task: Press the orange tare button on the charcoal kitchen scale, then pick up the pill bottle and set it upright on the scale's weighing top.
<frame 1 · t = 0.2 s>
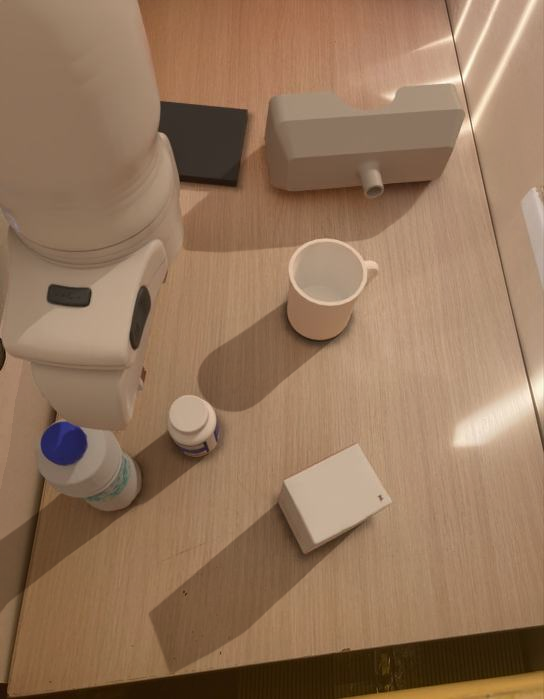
hand: (146, 326, 43), 23 cm above the worktop, tool pointing down, fingers open, 8 cm apart
pill bottle: (197, 435, 63), on the worktop
bottle: (117, 484, 60), on the worktop
scale: (196, 146, 81), on the worktop
tare button: (152, 150, 76), point 4 cm above the worktop, slide at 0.1 cm
tank: (354, 178, 79), on the worktop
mug: (325, 312, 70), on the worktop
small box: (321, 510, 60), on the worktop
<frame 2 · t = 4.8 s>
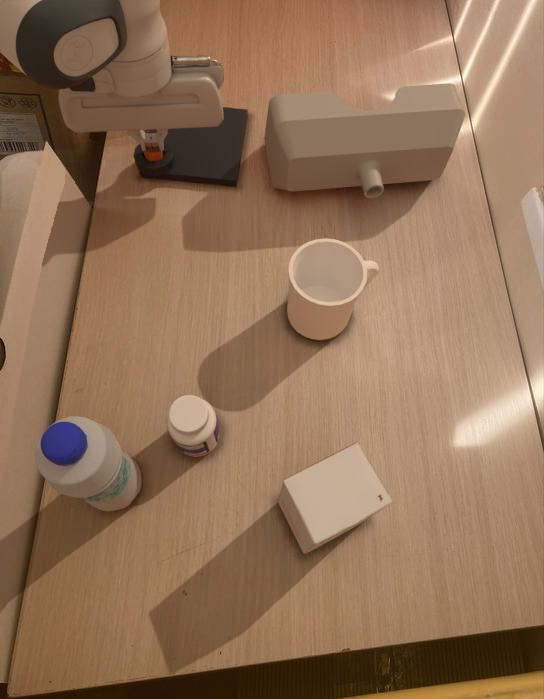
hand: (153, 147, 75), 4 cm above the worktop, tool pointing down, fingers closed, pressing on tare button
tare button: (153, 152, 76), point 3 cm above the worktop, slide at -0.2 cm, touching gripper
everything else where it was.
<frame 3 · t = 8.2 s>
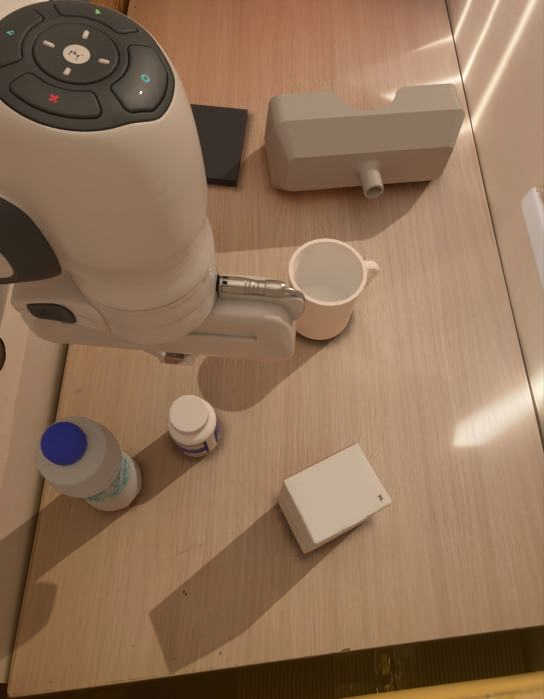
hand: (178, 357, 48), 17 cm above the worktop, tool pointing down, fingers closed
tare button: (152, 150, 76), point 4 cm above the worktop, slide at 0.1 cm
everything else where it was.
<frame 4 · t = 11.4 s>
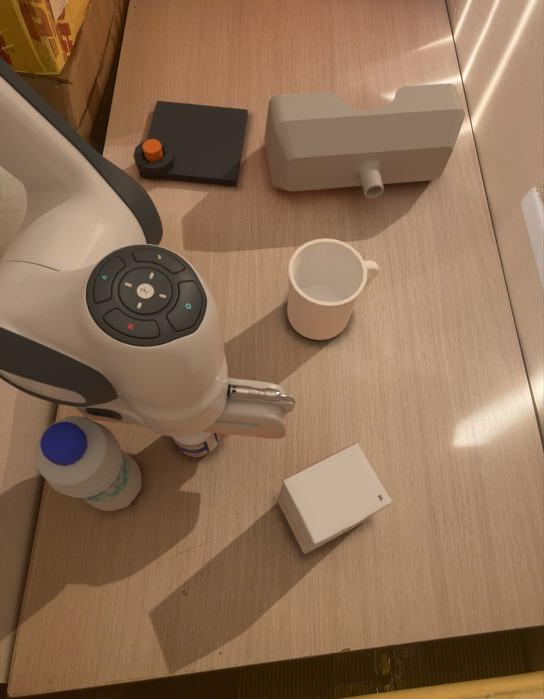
hand: (193, 426, 59), 4 cm above the worktop, tool pointing down, fingers closed on pill bottle, 5 cm apart
pill bottle: (197, 435, 63), on the worktop, touching gripper
everything else where it was.
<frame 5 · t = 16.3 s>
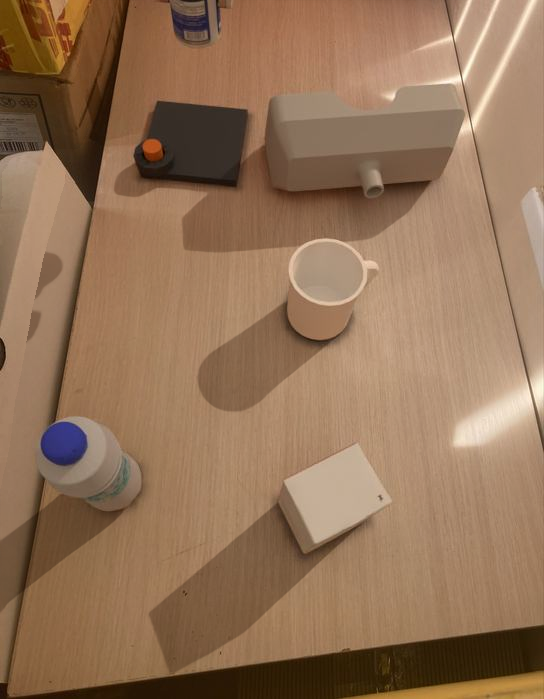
hand: (194, 2, 57), 24 cm above the worktop, tool pointing down, fingers closed on pill bottle, 5 cm apart
pill bottle: (198, 36, 61), point 20 cm above the worktop, touching gripper
everything else where it was.
when the fingers open (5 cm above the worktop, at t = 21.7 s): pill bottle stays where it is, resting on scale.
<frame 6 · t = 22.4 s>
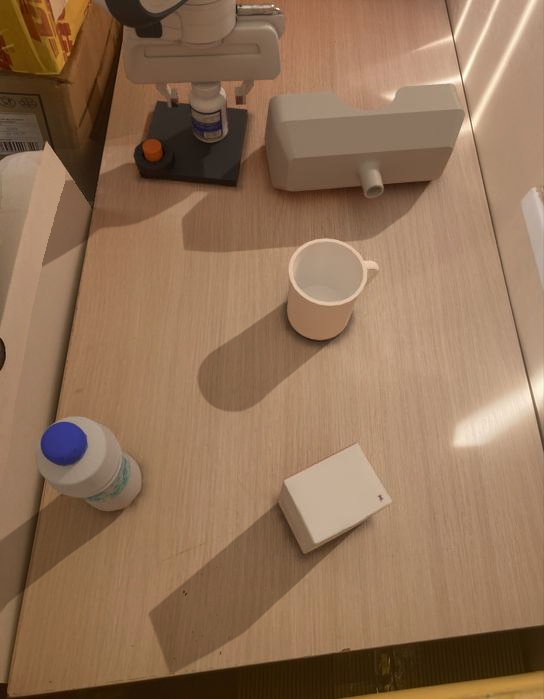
hand: (207, 103, 76), 6 cm above the worktop, tool pointing down, fingers open, 8 cm apart
pill bottle: (210, 131, 80), point 1 cm above the worktop, touching scale
everything else where it was.
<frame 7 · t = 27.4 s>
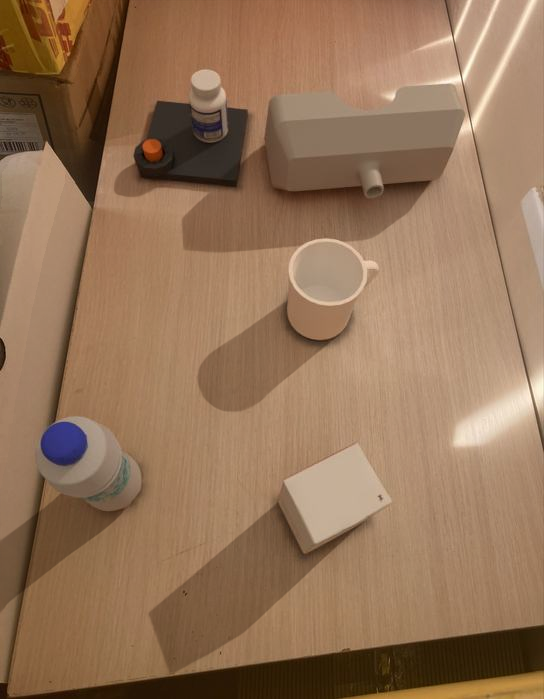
nothing on the worktop moved.
at the end: tare button pushed in 0.9 cm at the most during the clip, back to where it started at the end; pill bottle inside the target area on the scale (2.8 cm from its centre), point 1.2 cm above the scale's base; pill bottle touching scale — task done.
